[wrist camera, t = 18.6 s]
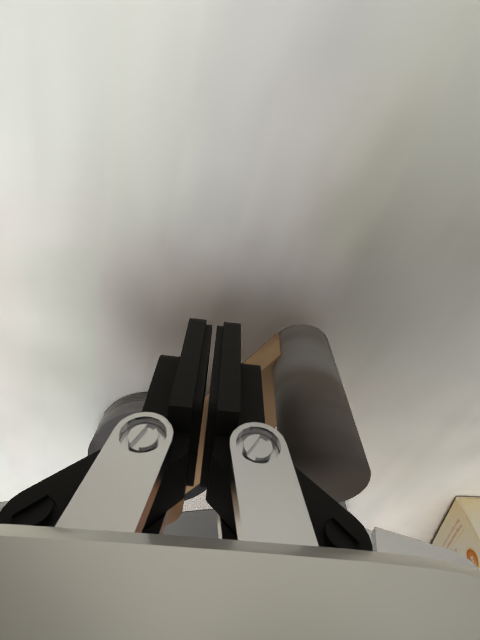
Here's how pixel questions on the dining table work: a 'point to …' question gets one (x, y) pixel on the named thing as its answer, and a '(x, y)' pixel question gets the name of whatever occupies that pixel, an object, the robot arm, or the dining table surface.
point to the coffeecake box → (462, 529)
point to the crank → (305, 413)
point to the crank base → (114, 416)
